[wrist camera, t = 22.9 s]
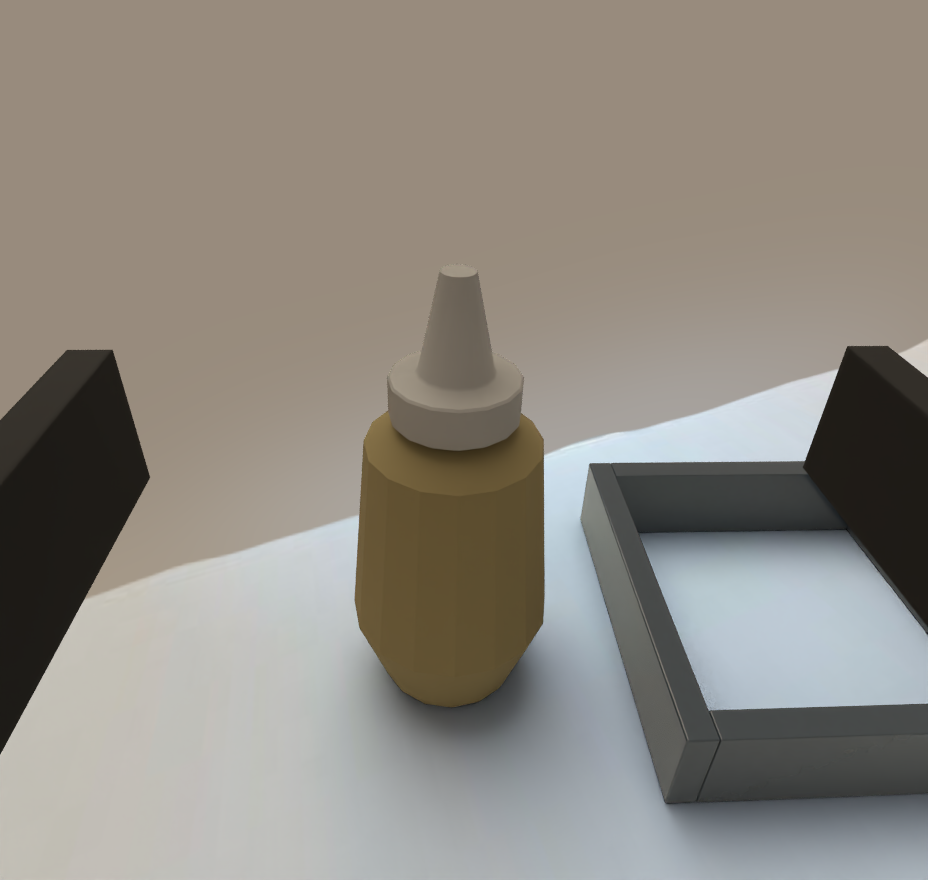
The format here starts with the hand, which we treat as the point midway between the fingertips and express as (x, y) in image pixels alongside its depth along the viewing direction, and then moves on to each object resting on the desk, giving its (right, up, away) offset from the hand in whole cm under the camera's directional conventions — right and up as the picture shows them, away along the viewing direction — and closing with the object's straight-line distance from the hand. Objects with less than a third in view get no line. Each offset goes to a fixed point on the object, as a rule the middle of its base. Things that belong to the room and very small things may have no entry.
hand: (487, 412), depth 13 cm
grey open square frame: (+15, -10, +20) cm, 27 cm away
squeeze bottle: (-1, -10, +19) cm, 21 cm away
